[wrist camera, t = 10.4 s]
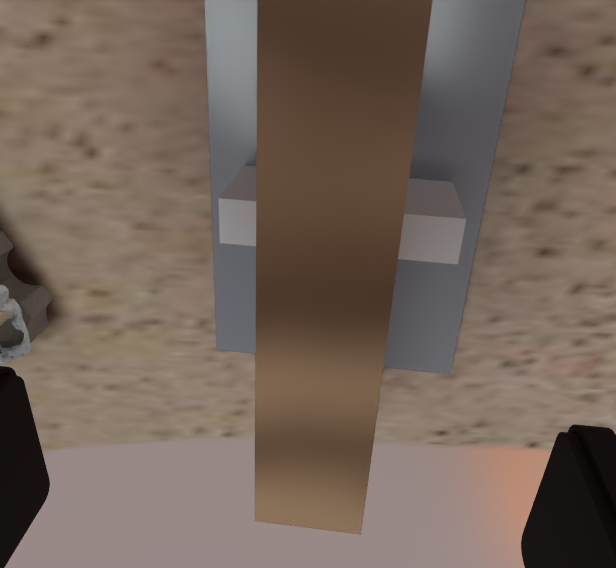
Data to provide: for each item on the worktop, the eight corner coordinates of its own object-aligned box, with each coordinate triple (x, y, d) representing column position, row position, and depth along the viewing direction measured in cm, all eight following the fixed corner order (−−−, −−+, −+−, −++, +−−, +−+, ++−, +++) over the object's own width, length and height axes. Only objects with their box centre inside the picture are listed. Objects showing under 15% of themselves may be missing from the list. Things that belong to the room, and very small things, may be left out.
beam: (290, -98, 16) (257, -129, 12) (430, -92, 16) (449, -123, 12) (276, 429, 26) (254, 520, 21) (364, 440, 25) (360, 534, 21)
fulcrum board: (211, -50, 22) (163, -61, 17) (525, -35, 21) (569, -42, 16) (222, 337, 31) (191, 404, 26) (447, 360, 30) (460, 434, 25)
